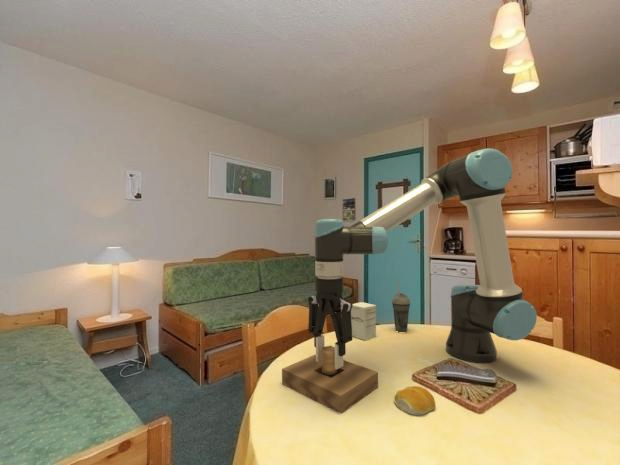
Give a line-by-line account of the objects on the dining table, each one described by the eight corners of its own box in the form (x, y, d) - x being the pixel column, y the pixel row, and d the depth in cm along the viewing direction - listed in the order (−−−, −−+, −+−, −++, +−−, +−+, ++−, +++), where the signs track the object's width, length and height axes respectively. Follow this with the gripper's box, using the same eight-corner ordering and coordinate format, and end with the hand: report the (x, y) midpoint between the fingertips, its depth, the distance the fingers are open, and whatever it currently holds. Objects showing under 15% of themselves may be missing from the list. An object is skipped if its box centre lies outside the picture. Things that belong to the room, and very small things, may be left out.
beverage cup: (411, 334, 122) (411, 284, 122) (392, 333, 123) (392, 284, 123) (409, 329, 129) (409, 281, 129) (391, 328, 130) (391, 281, 130)
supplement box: (350, 336, 120) (349, 304, 120) (362, 332, 125) (361, 301, 125) (364, 341, 114) (364, 307, 115) (376, 336, 119) (376, 304, 119)
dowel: (340, 386, 81) (340, 349, 81) (330, 392, 78) (330, 353, 78) (328, 380, 84) (328, 344, 84) (318, 386, 81) (318, 349, 81)
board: (378, 387, 80) (378, 372, 80) (340, 413, 68) (340, 395, 68) (321, 364, 94) (321, 351, 94) (282, 383, 82) (281, 368, 82)
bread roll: (441, 407, 71) (441, 390, 71) (417, 420, 66) (417, 402, 66) (412, 392, 78) (412, 376, 78) (388, 403, 73) (388, 386, 73)
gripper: (294, 275, 85) (294, 357, 85) (349, 282, 72) (349, 380, 72) (312, 272, 90) (313, 350, 90) (367, 278, 77) (367, 369, 77)
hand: (329, 363), depth 81 cm, fingers open, 6 cm apart
